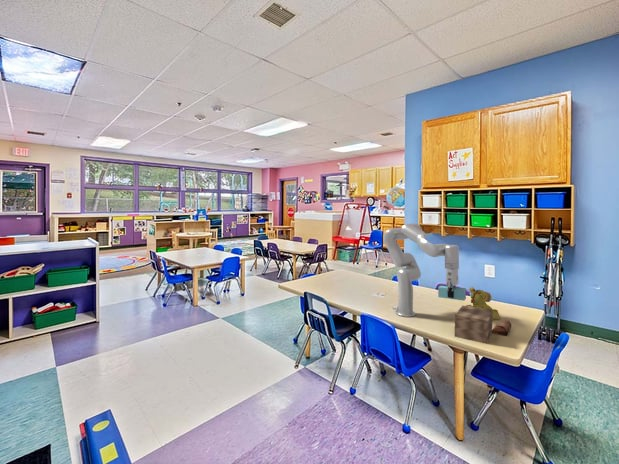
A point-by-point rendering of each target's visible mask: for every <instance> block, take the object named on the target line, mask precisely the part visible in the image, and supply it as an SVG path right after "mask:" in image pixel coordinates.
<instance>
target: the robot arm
mask: <svg viewBox="0 0 619 464" xmlns="http://www.w3.org/2000/svg"><path fill="white" fill-rule="evenodd" d="M407 239H409V240H411V241H412V242H414V243H415V244H417V246H418V248H419V250H420V251H421V252H423V253H425V254H426V255H428V256H429V257H431V258H437V257H444V269H446V271H445V272H446V273H445V274H446V275H445V285H446V286H448V297H449V298H454V291H453V287H457V285H459V282H460V281H459V269H460V247H459V245H457V244H447V243H436V244H435V243H432V242H430V241H429V240H428V239H427V233H426V232H425V231H422V227H421V226H420V225H419V224H417V223H413V222H411V223H404V224H403V225H402V226H401V227H393V228H389V229H387V230H386V231H385V232H384V234H383V243H384V245H385V247H386V249H387V251H388V253H389V256H390V257H391V260H392V263H393V264H394V266H395V267H396V268H401V269H399V270H398V271H397V274H396V279H397V283H398V284H397V285H398V290H397V291H398V296H397V297H398V304H397V305H392V309H393V310H395V314H396V315H397V316H399V317H404V318H405V317H406V318H411V317H415V316H416V312H415V311H414V287H413V284H412V282H415V281H418V280H419V279H420V278H421V276H422V273H421V270H420V268H419V267H420V266H419V265H418V263H417V260H416V258H415V257H414V255H413V254H411V252H403V249H402V247H401V246H400V244H399V243H398V242H397V241H400V240H401V241H402V240H403V241H404V240H407ZM451 287H452V288H451Z"/></svg>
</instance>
